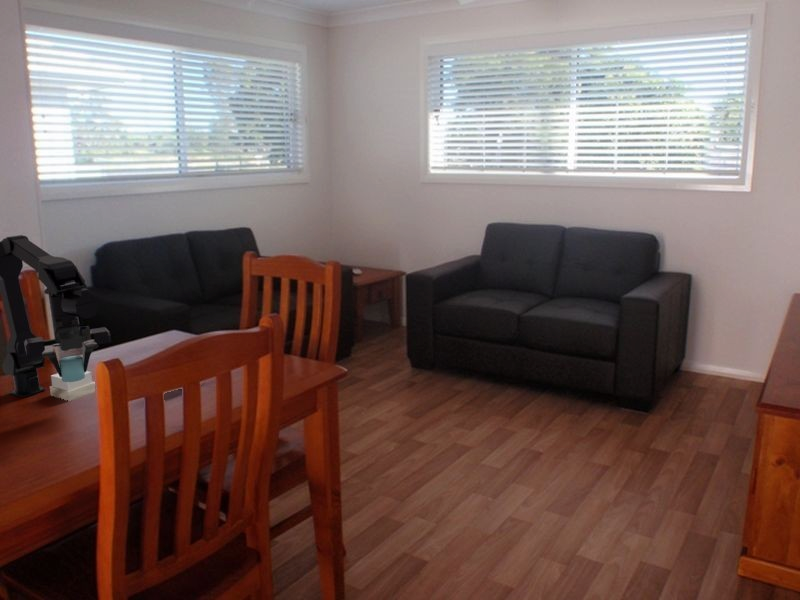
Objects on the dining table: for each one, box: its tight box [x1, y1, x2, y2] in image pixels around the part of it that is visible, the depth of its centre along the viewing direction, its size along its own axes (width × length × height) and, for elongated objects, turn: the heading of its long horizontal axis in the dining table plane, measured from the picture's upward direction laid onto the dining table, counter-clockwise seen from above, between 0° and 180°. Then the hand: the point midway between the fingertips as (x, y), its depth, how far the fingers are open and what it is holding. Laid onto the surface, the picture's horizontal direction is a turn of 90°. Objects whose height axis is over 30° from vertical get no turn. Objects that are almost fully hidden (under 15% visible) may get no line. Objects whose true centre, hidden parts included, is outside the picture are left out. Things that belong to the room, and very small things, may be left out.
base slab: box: [49, 381, 95, 402], centre depth 187 cm, size 8×8×3 cm
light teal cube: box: [58, 355, 85, 382], centre depth 173 cm, size 5×5×5 cm
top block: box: [50, 370, 93, 391], centre depth 186 cm, size 7×7×3 cm
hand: (72, 374), depth 174 cm, fingers closed on light teal cube, 5 cm apart
